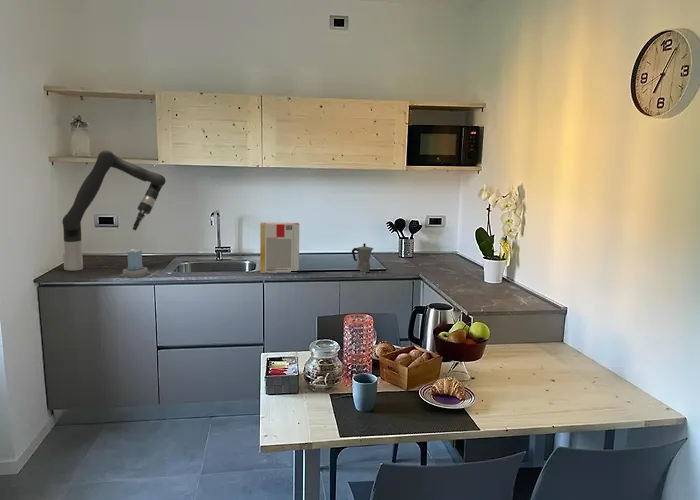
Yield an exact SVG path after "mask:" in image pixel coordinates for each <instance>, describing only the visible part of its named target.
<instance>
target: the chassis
mask: <svg viewBox="0 0 700 500" xmlns="http://www.w3.org/2000/svg"><path fill="white" fill-rule="evenodd" d="M149 273H150V274H151V271H148V267H144V266H143V267H142V269H141V270H138V271H132V270H128V269H127V268H125V269H122V273H121V274H120V276H122V278H130V277H131V278H133V279H139V278H142V277H144V275H145V276H147V275H146V274H148V275H150V274H149ZM141 276H142V277H141Z"/></svg>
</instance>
